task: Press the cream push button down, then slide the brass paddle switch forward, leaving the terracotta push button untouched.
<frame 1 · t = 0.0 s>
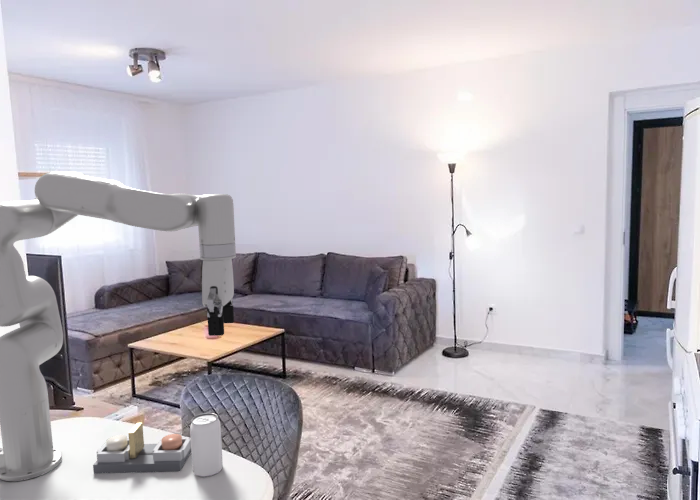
hand: (221, 328, 115), 31 cm above the table, tool pointing down, fingers open, 9 cm apart
cream button: (116, 443, 120), point 4 cm above the table, slide at 0.0 cm
paddle: (136, 440, 120), point 5 cm above the table, slide at 0.0 cm
terracotta button: (171, 442, 120), point 4 cm above the table, slide at 0.0 cm
can: (207, 470, 116), on the table
panel: (144, 461, 120), on the table
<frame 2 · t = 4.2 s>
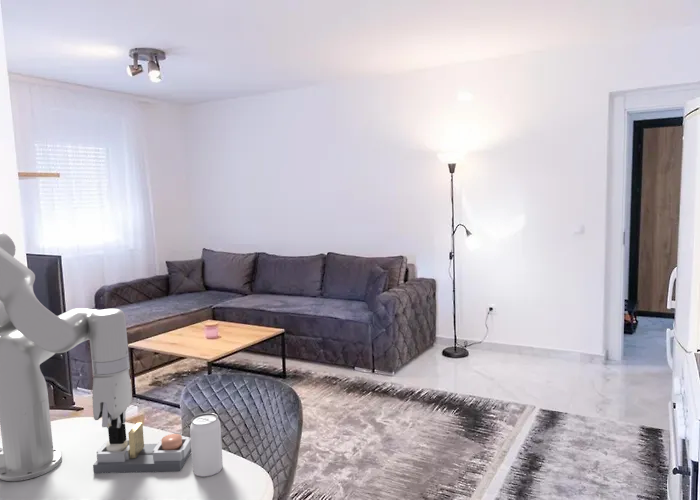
hand: (118, 442, 120), 5 cm above the table, tool pointing down, fingers closed
cream button: (117, 446, 120), point 4 cm above the table, slide at 0.6 cm, touching gripper
everything else where it was.
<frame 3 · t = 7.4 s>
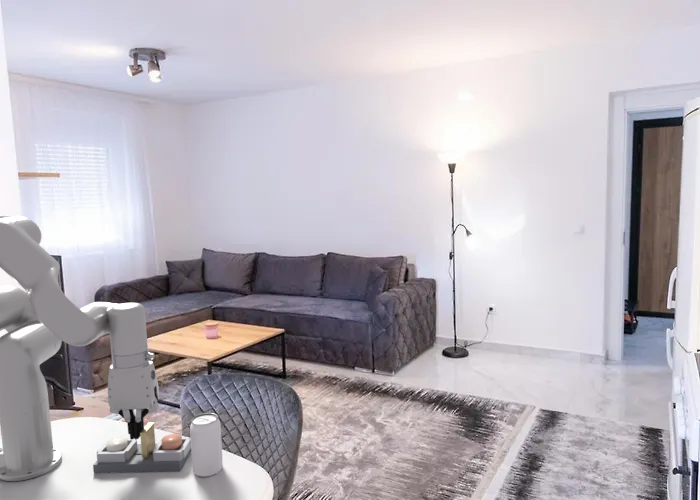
hand: (136, 436, 119), 6 cm above the table, tool pointing down, fingers closed
cream button: (117, 446, 120), point 4 cm above the table, slide at 0.7 cm
paddle: (148, 439, 120), point 5 cm above the table, slide at 2.6 cm, touching gripper
everything else where it was.
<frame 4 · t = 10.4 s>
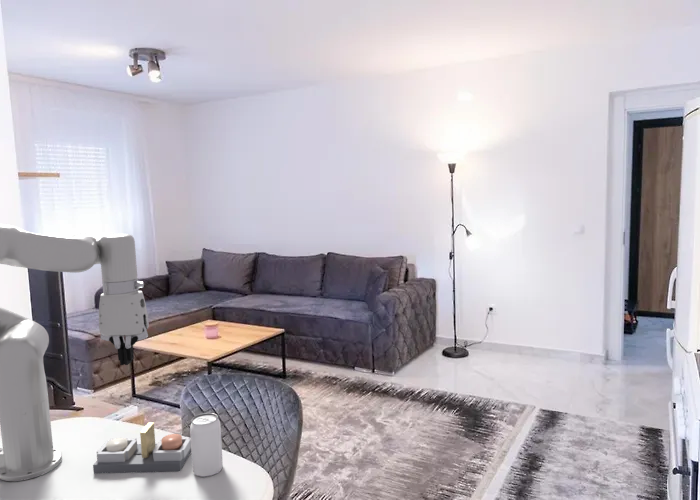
hand: (126, 363, 124), 21 cm above the table, tool pointing down, fingers closed
paddle: (148, 439, 120), point 5 cm above the table, slide at 2.6 cm
everything else where it was.
at the end: cream button slide at 0.7 cm; paddle slide at 2.6 cm; terracotta button slide at 0.0 cm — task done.
